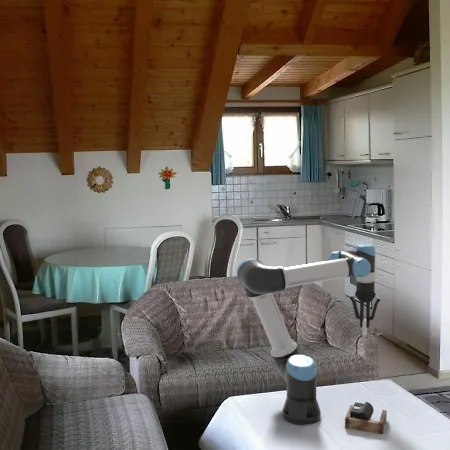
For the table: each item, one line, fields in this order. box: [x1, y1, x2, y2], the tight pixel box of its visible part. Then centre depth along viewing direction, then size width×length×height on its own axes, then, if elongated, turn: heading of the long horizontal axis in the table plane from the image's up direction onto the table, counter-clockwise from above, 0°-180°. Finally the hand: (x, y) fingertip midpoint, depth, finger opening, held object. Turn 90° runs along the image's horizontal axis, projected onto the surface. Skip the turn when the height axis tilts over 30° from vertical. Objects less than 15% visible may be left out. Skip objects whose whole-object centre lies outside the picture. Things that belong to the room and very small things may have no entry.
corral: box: [344, 404, 387, 435], centre depth 222 cm, size 14×12×4 cm
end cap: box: [350, 401, 375, 420], centre depth 223 cm, size 10×7×7 cm
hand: (364, 334), depth 246 cm, fingers closed
